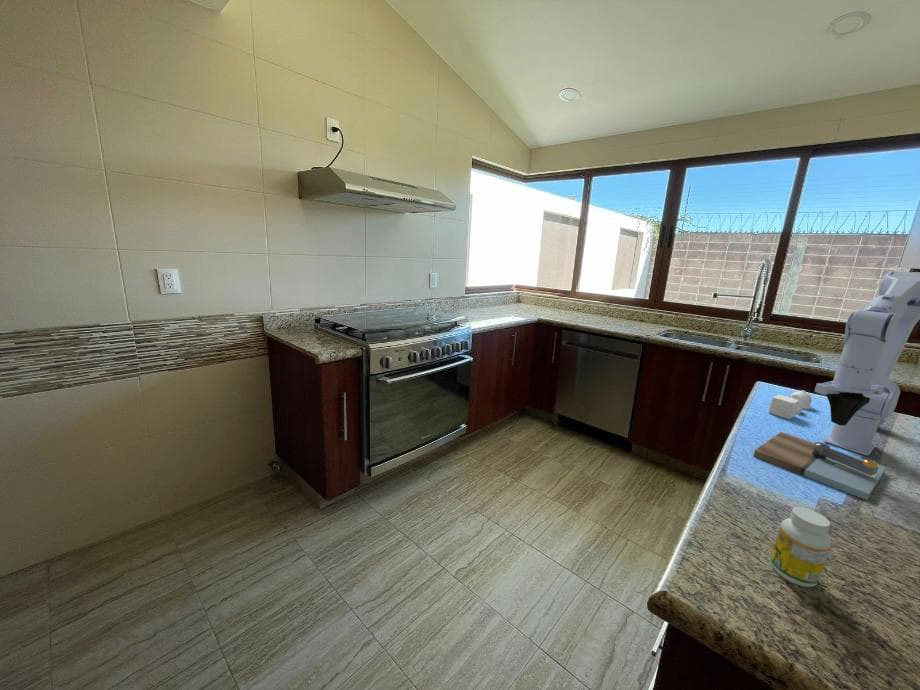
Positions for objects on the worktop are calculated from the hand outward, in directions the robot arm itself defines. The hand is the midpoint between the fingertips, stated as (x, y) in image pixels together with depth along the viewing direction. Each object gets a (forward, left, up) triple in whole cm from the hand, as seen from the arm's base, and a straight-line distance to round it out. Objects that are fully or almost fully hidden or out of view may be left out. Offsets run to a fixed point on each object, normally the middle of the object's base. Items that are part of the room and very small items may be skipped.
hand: (838, 423), depth 85 cm
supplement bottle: (+49, +6, -9) cm, 50 cm away
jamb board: (+5, -5, -9) cm, 12 cm away
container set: (-31, -14, -10) cm, 35 cm away
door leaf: (+5, +4, -9) cm, 11 cm away
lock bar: (+5, +3, -7) cm, 9 cm away
